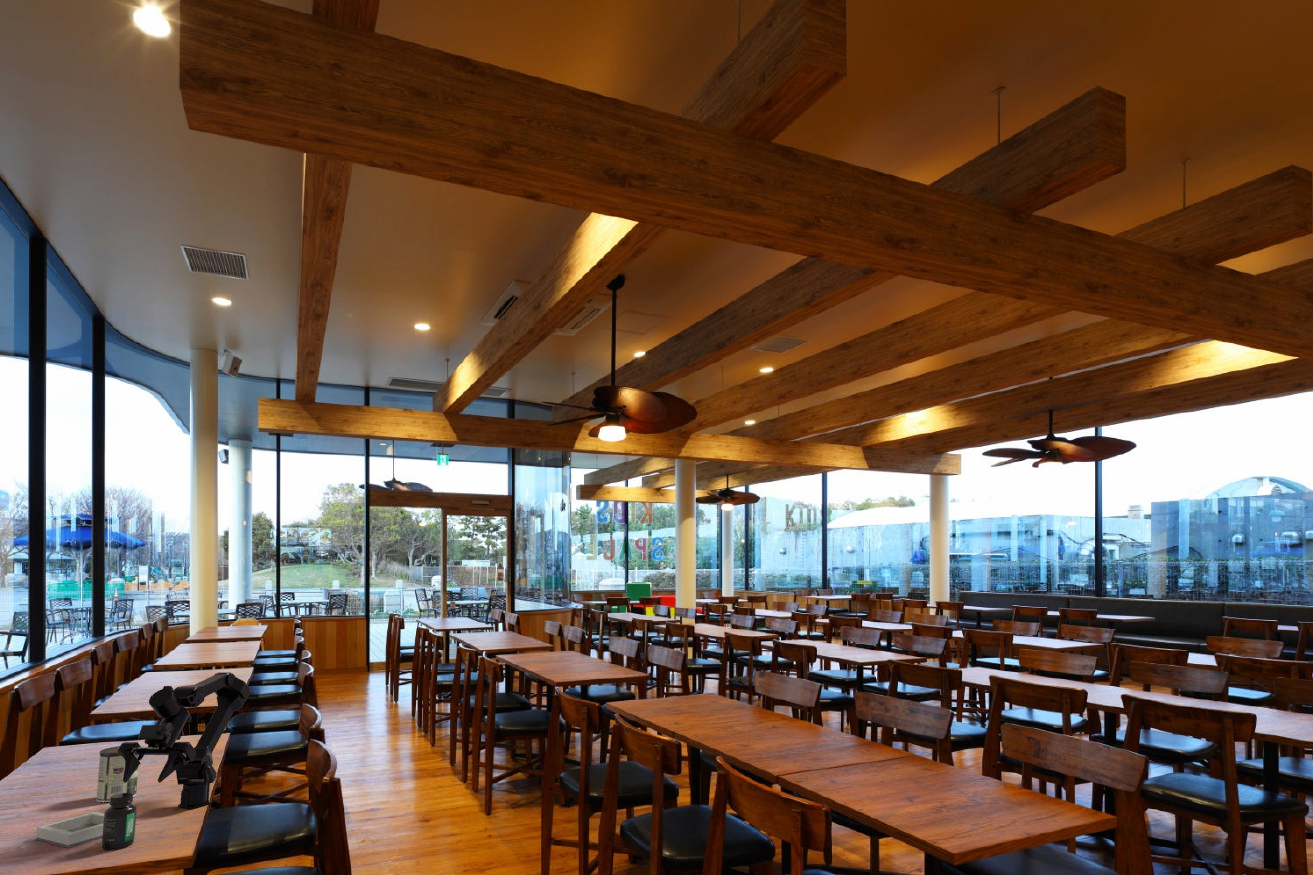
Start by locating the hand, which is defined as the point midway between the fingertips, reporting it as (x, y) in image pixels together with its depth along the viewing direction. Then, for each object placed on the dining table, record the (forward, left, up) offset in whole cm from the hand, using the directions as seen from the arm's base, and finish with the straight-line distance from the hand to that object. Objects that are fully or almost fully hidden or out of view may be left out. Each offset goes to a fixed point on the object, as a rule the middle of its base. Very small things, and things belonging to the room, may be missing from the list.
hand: (141, 781), depth 211 cm
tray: (+6, -13, -13) cm, 20 cm away
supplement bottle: (+7, +4, -13) cm, 16 cm away
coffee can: (-18, -39, -13) cm, 45 cm away
